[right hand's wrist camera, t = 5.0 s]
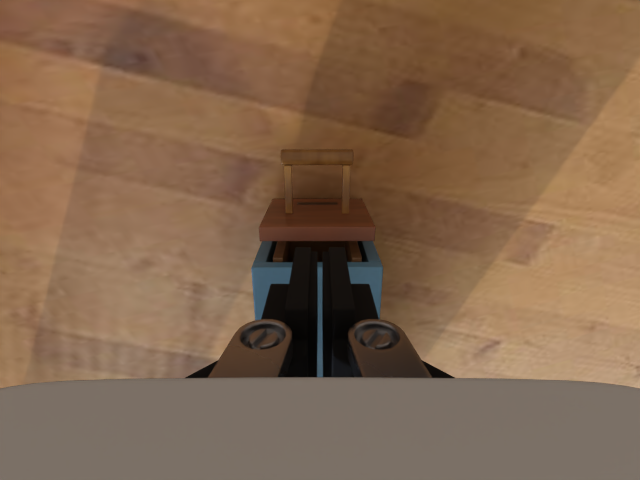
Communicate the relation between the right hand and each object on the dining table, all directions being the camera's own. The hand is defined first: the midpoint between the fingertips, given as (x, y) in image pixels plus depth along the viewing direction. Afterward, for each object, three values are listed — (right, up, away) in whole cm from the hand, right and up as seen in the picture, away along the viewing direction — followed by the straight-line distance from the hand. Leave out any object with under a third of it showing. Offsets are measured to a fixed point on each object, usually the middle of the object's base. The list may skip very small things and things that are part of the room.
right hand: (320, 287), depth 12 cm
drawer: (0, +2, +25) cm, 25 cm away
